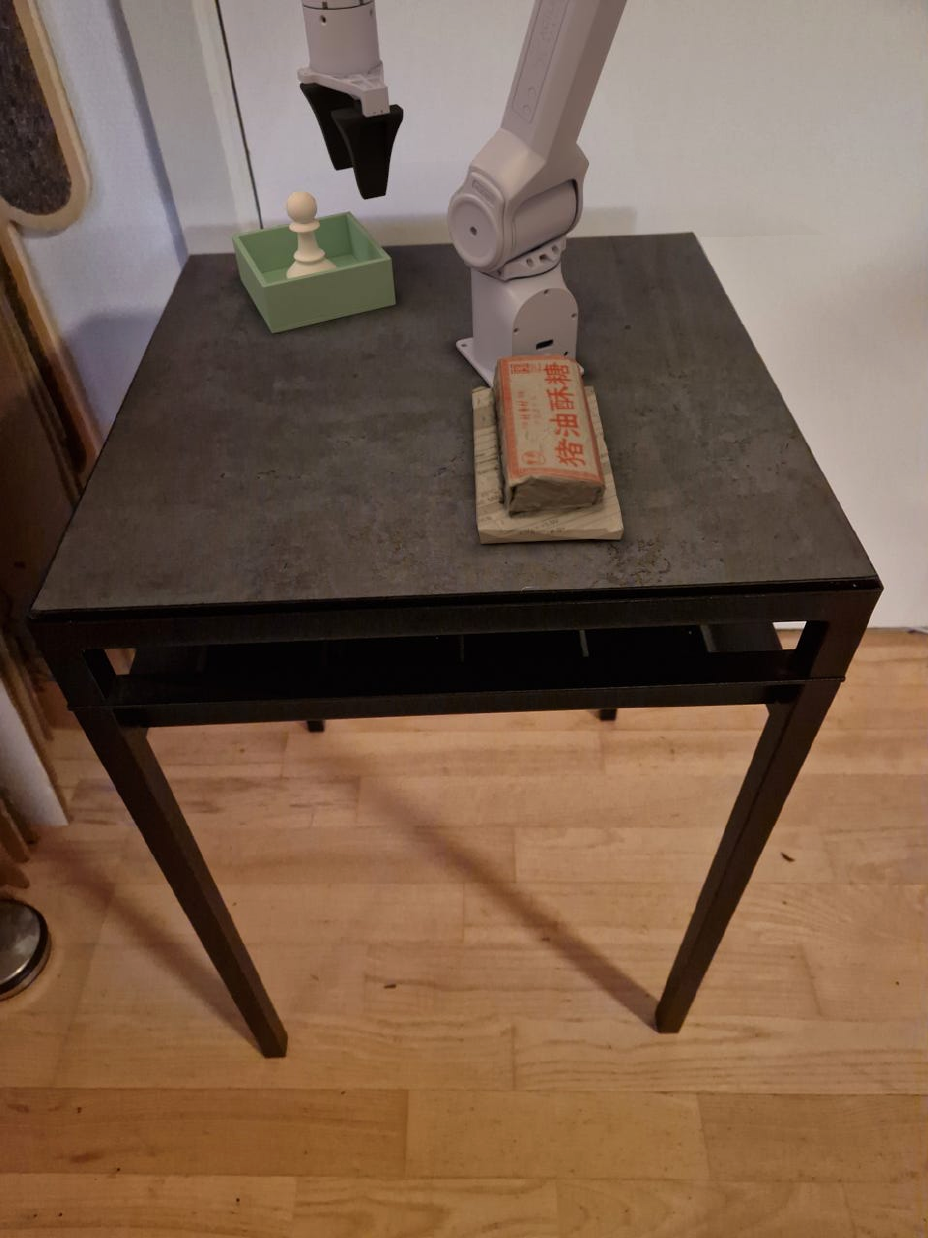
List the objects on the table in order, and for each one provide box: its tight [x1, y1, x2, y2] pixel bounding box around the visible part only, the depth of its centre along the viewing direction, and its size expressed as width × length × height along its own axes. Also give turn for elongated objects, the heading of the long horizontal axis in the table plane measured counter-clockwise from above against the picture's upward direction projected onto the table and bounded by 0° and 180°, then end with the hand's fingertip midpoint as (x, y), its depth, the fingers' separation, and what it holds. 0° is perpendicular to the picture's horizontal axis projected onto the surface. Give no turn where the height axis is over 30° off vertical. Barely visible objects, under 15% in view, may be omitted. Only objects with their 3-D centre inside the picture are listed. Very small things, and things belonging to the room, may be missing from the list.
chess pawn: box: [285, 190, 337, 279], centre depth 84 cm, size 5×5×9 cm
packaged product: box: [471, 354, 625, 545], centre depth 65 cm, size 18×5×10 cm
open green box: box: [230, 210, 397, 334], centre depth 86 cm, size 12×12×4 cm
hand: (359, 181), depth 80 cm, fingers open, 7 cm apart
